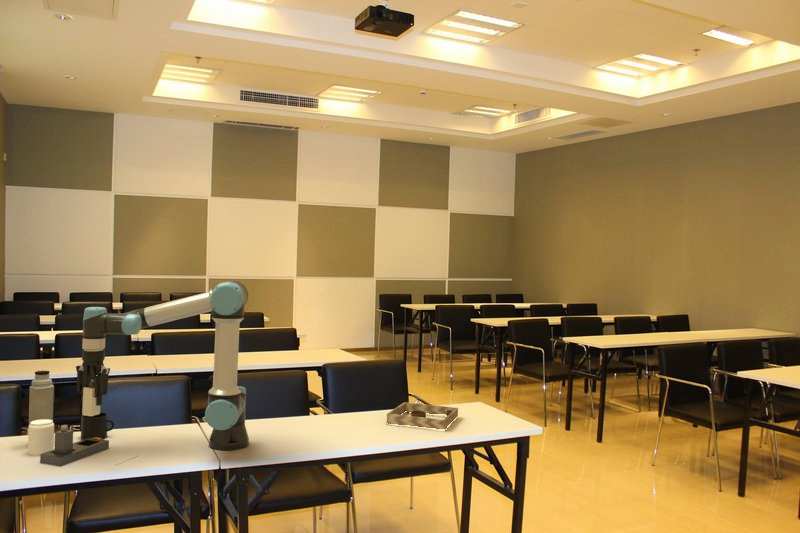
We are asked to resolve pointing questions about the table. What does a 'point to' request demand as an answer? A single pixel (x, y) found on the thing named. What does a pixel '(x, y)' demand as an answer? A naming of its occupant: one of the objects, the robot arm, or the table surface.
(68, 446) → the twin plug
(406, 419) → the frame
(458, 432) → the table surface
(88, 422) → the mug
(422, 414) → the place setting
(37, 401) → the thermos bottle
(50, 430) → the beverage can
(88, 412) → the plug
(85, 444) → the strip
